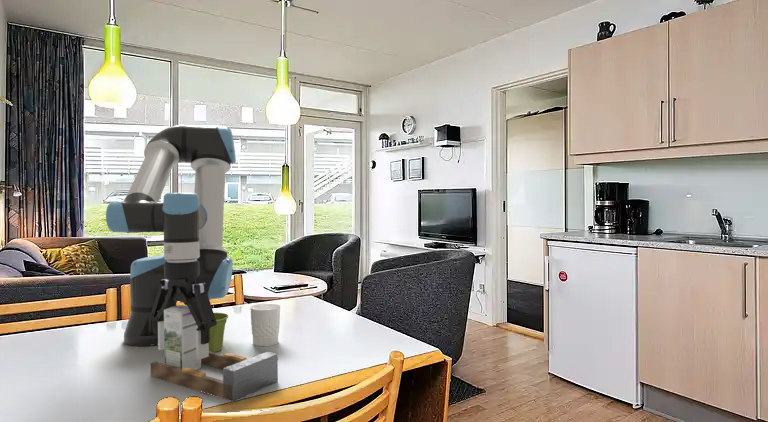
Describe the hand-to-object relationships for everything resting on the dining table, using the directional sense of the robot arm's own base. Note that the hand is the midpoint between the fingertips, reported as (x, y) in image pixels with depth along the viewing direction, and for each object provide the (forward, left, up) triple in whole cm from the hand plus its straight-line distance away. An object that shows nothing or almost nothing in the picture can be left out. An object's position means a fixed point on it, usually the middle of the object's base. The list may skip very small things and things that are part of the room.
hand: (182, 353), depth 109 cm
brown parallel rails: (+10, 0, -4) cm, 11 cm away
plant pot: (-7, +13, -4) cm, 15 cm away
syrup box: (0, 0, -4) cm, 4 cm away
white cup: (+1, +25, -4) cm, 25 cm away
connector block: (+22, 0, -4) cm, 22 cm away
